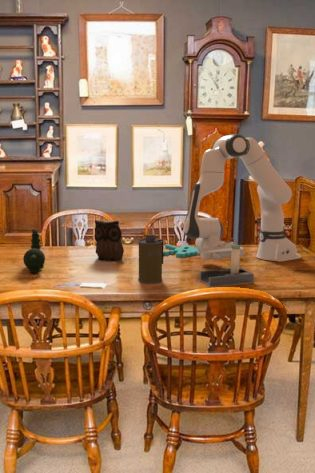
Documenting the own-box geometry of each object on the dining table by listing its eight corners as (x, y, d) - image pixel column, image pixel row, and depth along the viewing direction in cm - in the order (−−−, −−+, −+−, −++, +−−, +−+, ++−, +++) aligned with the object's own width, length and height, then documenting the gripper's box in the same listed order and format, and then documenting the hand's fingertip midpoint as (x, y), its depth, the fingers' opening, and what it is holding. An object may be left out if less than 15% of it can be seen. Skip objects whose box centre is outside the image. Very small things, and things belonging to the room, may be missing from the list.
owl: (124, 261, 250) (124, 221, 246) (100, 263, 245) (99, 222, 241) (116, 255, 262) (116, 216, 257) (92, 257, 257) (92, 218, 253)
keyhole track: (240, 275, 226) (240, 266, 226) (253, 283, 215) (254, 274, 214) (198, 279, 220) (199, 270, 219) (210, 287, 209) (210, 278, 208)
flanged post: (237, 277, 222) (238, 244, 219) (243, 280, 217) (244, 246, 214) (225, 278, 221) (227, 245, 217) (231, 281, 216) (233, 247, 212)
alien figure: (158, 256, 260) (197, 259, 257) (158, 252, 260) (197, 254, 256) (166, 248, 280) (202, 249, 276) (166, 244, 279) (202, 245, 275)
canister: (143, 284, 212) (143, 238, 208) (134, 278, 222) (134, 233, 218) (167, 281, 217) (167, 235, 212) (157, 275, 226) (157, 231, 222)
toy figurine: (26, 267, 245) (22, 277, 221) (25, 227, 243) (20, 233, 219) (46, 266, 247) (44, 276, 222) (45, 227, 245) (43, 233, 220)
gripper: (195, 244, 231) (208, 251, 218) (235, 241, 238) (250, 248, 225) (195, 258, 232) (208, 265, 219) (235, 254, 239) (249, 261, 226)
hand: (229, 256), depth 222 cm, fingers open, 8 cm apart
